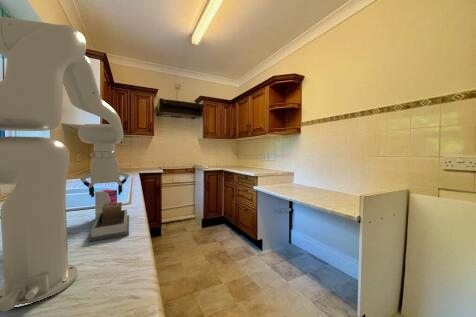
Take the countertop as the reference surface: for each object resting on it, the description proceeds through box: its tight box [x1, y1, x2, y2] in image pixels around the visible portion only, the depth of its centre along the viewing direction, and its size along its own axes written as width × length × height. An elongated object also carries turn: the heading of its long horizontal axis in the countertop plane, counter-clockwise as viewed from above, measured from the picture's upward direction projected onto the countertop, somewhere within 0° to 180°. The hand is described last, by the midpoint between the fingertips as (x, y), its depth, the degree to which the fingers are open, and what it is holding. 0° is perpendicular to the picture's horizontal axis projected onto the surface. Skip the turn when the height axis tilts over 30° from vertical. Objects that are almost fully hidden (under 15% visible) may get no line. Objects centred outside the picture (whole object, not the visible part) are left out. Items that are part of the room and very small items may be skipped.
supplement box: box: [94, 189, 118, 220], centre depth 86 cm, size 6×6×12 cm
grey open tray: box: [88, 201, 130, 243], centre depth 73 cm, size 18×11×8 cm, turn 28°
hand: (106, 195), depth 86 cm, fingers open, 9 cm apart
